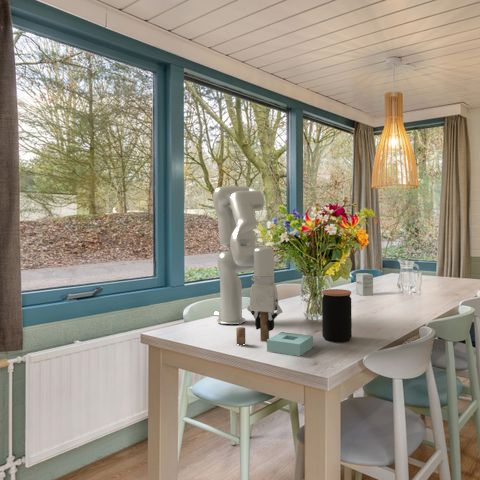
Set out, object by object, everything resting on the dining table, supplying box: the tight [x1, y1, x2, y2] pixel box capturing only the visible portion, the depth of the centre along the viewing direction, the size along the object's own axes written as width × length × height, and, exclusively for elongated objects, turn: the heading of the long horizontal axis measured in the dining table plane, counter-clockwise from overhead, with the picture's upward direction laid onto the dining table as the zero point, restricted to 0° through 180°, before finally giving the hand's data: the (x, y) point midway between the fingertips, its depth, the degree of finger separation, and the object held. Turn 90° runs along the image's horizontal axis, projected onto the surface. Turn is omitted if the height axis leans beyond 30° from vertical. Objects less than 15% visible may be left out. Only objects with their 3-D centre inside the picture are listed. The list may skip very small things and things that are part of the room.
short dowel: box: [235, 326, 246, 345], centre depth 157 cm, size 3×3×6 cm
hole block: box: [266, 331, 314, 357], centre depth 151 cm, size 12×12×4 cm
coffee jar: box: [321, 288, 353, 344], centre depth 163 cm, size 11×11×18 cm
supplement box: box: [355, 272, 374, 297], centre depth 261 cm, size 7×7×13 cm
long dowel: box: [259, 312, 270, 342], centre depth 162 cm, size 3×3×12 cm
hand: (264, 328), depth 162 cm, fingers open, 4 cm apart
